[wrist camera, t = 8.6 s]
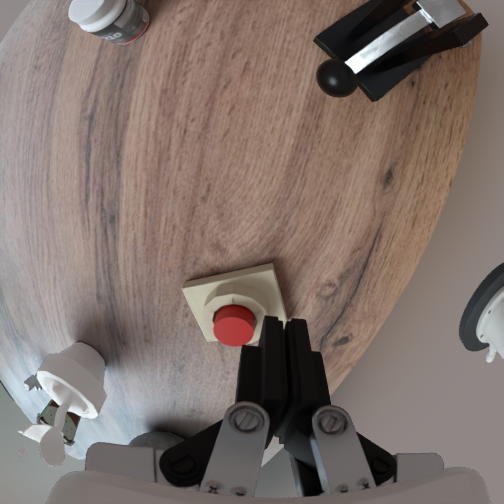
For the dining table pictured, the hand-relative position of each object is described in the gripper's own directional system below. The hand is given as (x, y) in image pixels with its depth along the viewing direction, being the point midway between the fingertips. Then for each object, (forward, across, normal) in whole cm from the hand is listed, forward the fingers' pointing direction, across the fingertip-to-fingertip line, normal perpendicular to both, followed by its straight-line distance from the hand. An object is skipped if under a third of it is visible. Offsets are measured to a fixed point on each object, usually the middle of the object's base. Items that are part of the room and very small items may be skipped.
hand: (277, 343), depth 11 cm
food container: (+17, +46, +57) cm, 75 cm away
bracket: (+17, -8, -20) cm, 27 cm away
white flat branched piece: (+17, +44, +40) cm, 62 cm away
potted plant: (+17, +26, +27) cm, 42 cm away
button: (+14, +2, +10) cm, 17 cm away
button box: (+17, +2, +10) cm, 20 cm away
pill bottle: (+17, +17, -19) cm, 31 cm away
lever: (+10, -6, -17) cm, 20 cm away
